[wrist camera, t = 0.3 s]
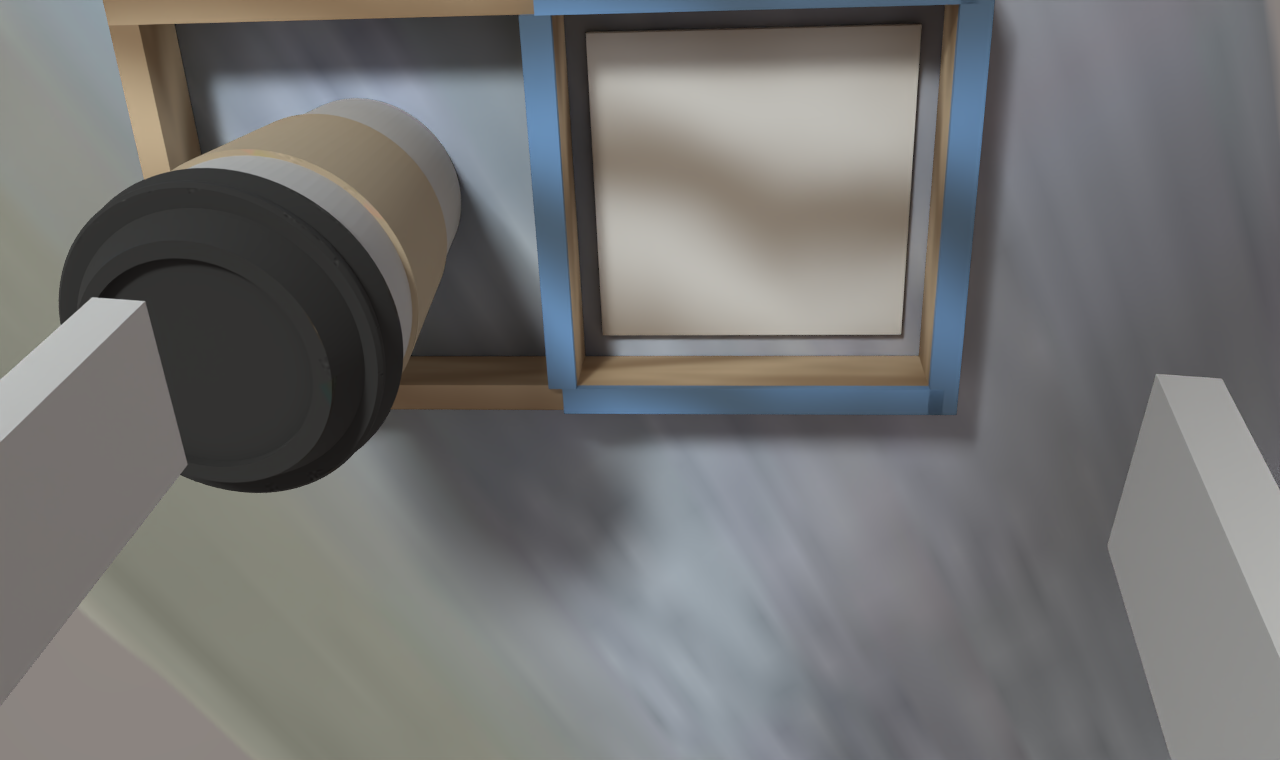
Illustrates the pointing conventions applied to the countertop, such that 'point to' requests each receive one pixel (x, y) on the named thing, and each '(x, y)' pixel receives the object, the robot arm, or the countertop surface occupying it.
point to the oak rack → (691, 198)
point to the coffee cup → (281, 285)
